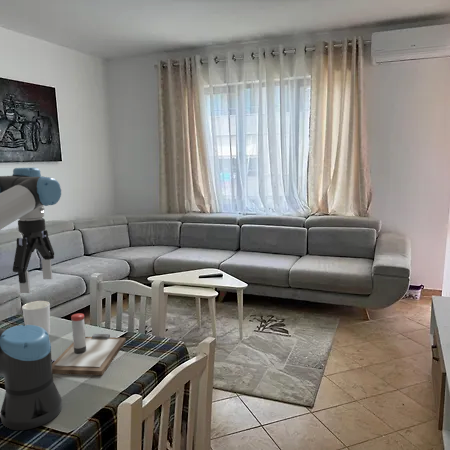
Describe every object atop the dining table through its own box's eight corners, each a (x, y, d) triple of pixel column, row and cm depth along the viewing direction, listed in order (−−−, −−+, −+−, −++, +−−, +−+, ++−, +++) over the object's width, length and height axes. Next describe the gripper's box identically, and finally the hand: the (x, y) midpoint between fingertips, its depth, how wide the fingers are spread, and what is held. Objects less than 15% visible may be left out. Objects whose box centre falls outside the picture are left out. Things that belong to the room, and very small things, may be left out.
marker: (71, 353, 143) (69, 318, 141) (76, 348, 147) (74, 313, 145) (83, 354, 143) (81, 318, 141) (88, 348, 147) (86, 313, 145)
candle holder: (56, 329, 167) (54, 301, 165) (44, 340, 158) (41, 310, 155) (33, 328, 168) (30, 300, 166) (19, 339, 159) (16, 309, 156)
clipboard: (47, 373, 134) (46, 365, 134) (79, 340, 158) (78, 333, 157) (102, 375, 133) (101, 367, 132) (125, 341, 156) (125, 334, 156)
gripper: (20, 225, 115) (27, 299, 119) (61, 212, 139) (66, 274, 143) (-6, 225, 115) (1, 299, 119) (40, 212, 140) (45, 273, 144)
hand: (37, 285), depth 131 cm, fingers open, 13 cm apart
